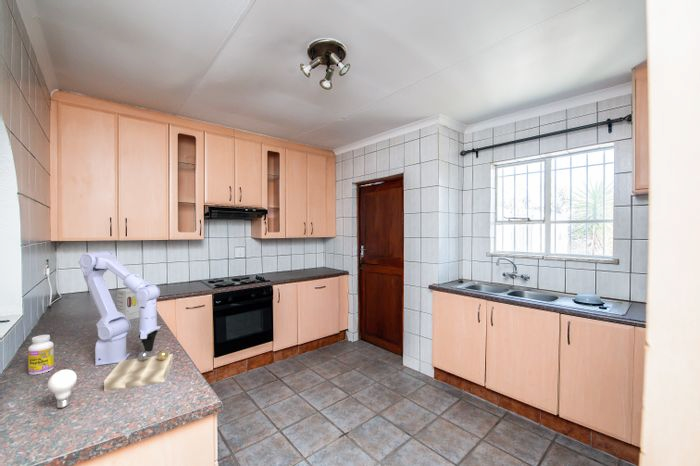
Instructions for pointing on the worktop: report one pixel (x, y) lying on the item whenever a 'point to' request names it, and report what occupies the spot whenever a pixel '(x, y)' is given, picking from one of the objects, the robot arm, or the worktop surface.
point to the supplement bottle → (40, 355)
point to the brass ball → (162, 355)
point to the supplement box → (127, 303)
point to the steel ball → (143, 355)
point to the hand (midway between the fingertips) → (148, 350)
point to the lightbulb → (62, 386)
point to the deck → (138, 373)
